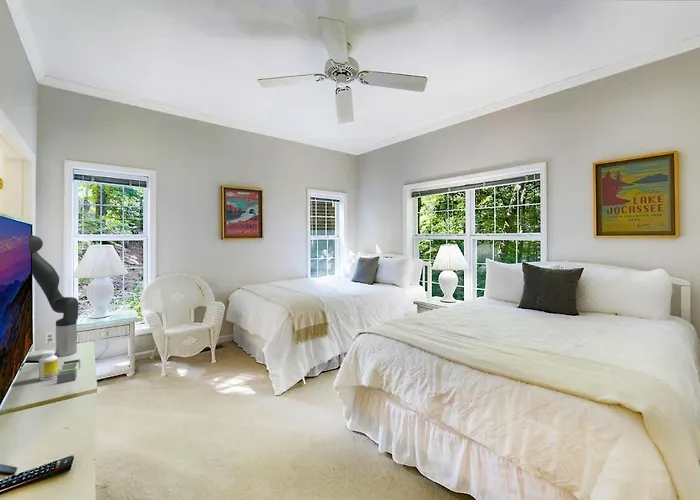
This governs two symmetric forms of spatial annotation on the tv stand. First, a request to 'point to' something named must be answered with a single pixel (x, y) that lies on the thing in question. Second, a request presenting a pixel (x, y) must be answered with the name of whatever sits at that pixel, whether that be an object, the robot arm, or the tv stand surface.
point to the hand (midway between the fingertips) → (19, 325)
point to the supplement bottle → (48, 365)
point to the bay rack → (68, 371)
